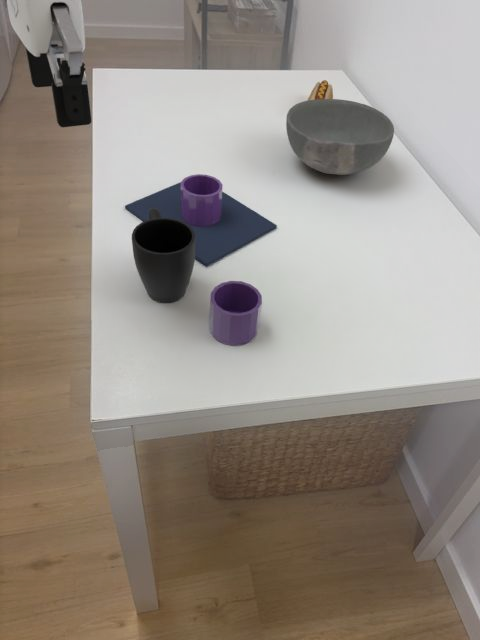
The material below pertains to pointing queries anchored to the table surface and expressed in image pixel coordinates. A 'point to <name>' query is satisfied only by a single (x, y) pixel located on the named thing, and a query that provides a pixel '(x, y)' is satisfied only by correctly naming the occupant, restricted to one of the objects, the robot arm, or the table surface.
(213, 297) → the ramekin
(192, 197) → the ramekin
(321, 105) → the bowl
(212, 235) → the placemat
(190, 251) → the mug
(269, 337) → the table surface
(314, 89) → the food
